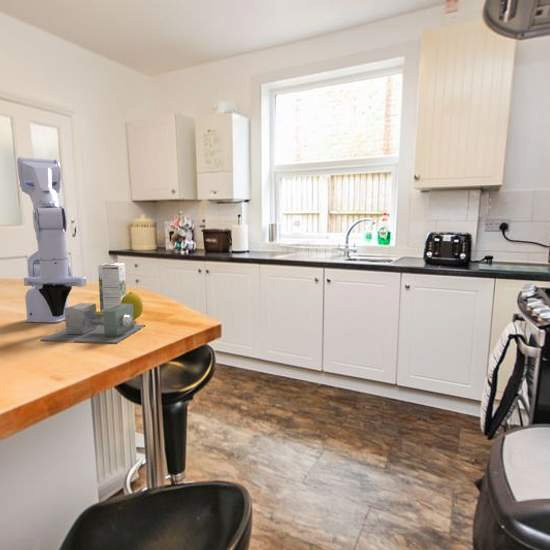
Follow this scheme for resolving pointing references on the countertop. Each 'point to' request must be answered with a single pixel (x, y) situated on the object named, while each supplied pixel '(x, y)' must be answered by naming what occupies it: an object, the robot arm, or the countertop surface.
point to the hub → (80, 318)
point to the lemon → (134, 300)
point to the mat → (89, 336)
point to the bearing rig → (115, 320)
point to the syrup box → (111, 284)
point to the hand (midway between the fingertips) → (58, 315)
